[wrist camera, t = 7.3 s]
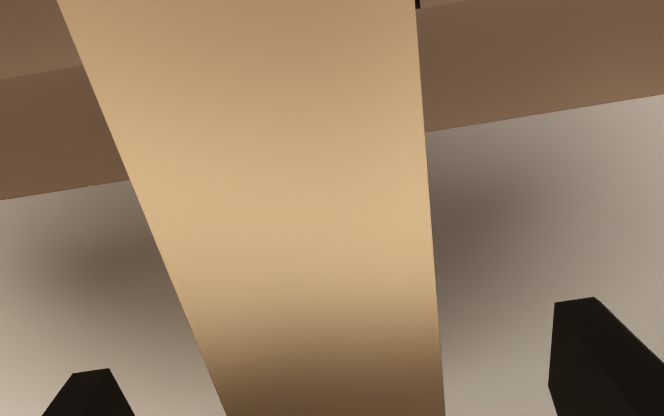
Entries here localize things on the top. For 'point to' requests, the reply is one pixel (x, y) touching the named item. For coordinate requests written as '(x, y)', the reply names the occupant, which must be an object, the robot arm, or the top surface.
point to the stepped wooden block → (435, 73)
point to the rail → (281, 191)
